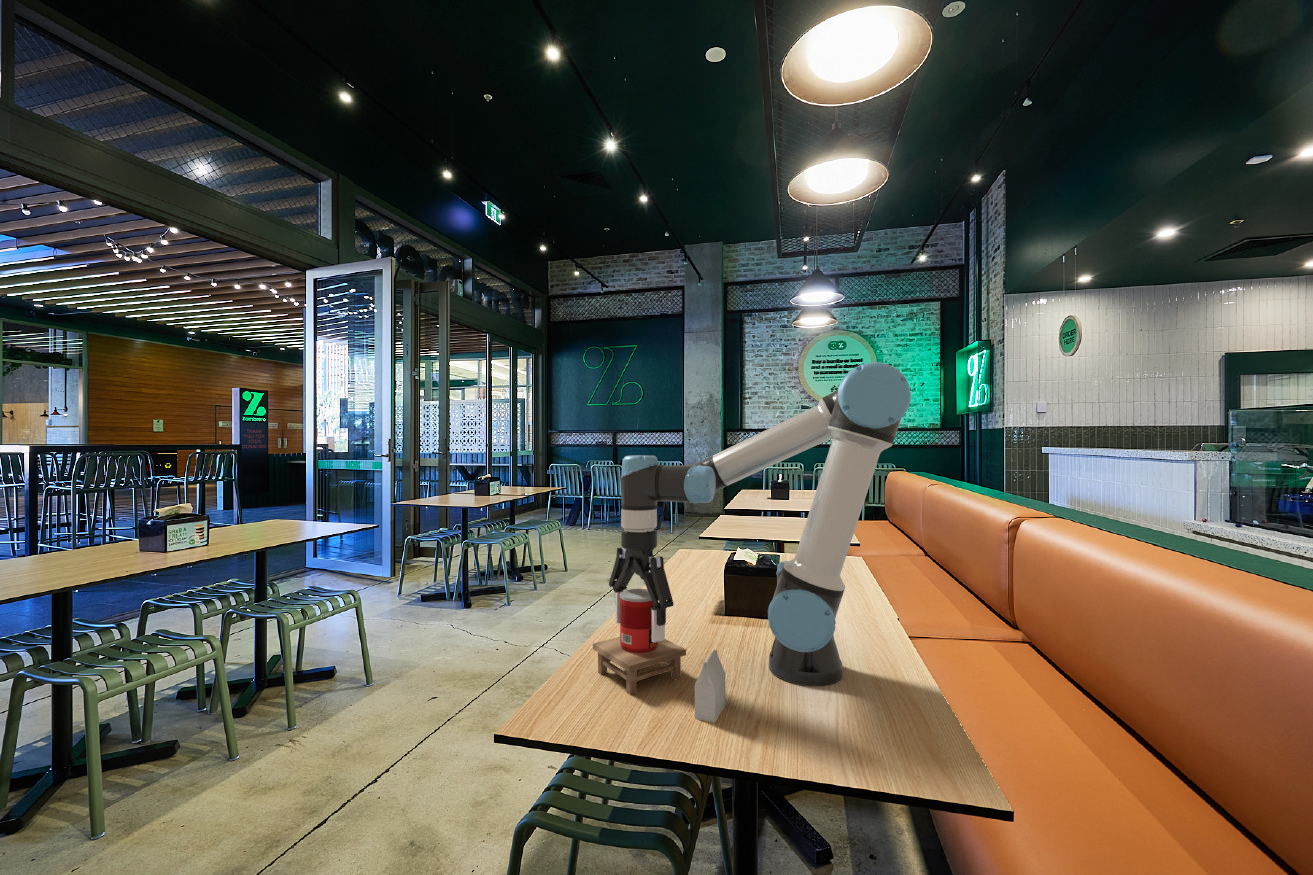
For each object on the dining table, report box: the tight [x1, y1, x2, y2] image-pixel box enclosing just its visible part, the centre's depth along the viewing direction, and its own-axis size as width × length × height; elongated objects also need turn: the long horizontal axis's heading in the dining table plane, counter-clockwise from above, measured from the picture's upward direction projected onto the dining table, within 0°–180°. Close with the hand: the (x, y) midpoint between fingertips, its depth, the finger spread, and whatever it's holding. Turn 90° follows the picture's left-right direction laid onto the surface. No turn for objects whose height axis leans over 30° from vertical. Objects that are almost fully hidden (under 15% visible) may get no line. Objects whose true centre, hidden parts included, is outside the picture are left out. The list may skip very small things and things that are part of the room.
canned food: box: [619, 588, 658, 653], centre depth 110 cm, size 8×8×11 cm
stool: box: [592, 636, 687, 695], centre depth 110 cm, size 14×14×6 cm
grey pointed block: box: [694, 649, 726, 724], centre depth 95 cm, size 4×7×10 cm, turn 157°
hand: (638, 630), depth 110 cm, fingers open, 13 cm apart
